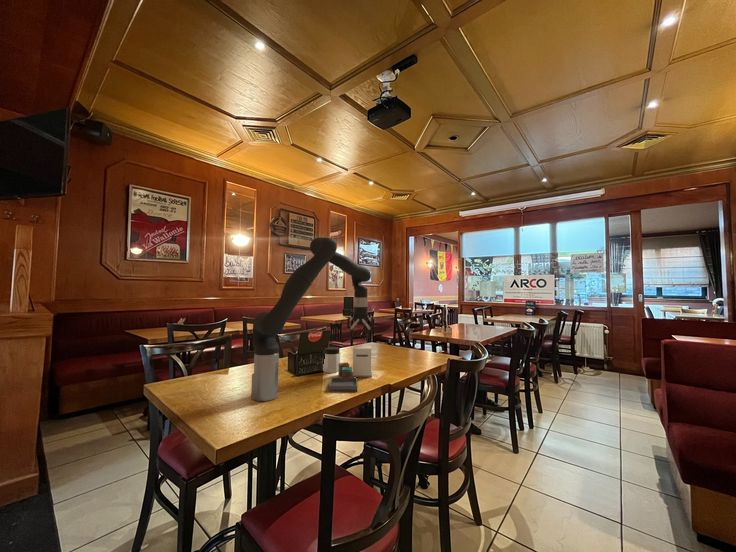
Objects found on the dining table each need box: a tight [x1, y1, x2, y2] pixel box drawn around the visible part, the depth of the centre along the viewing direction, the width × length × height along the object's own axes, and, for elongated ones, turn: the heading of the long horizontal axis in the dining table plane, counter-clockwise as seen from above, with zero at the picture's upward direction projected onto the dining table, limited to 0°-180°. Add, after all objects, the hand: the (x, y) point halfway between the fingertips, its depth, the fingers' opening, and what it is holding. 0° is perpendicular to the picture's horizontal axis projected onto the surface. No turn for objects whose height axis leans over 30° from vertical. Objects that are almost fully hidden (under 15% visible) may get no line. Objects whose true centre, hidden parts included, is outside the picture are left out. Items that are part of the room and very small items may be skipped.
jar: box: [322, 346, 341, 374], centre depth 159 cm, size 9×8×12 cm
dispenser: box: [352, 345, 373, 379], centre depth 151 cm, size 10×8×14 cm
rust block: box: [338, 362, 350, 378], centre depth 150 cm, size 4×4×6 cm
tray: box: [328, 377, 359, 393], centre depth 132 cm, size 12×12×2 cm
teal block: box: [341, 366, 353, 378], centre depth 141 cm, size 4×4×6 cm
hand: (360, 336), depth 160 cm, fingers open, 8 cm apart
